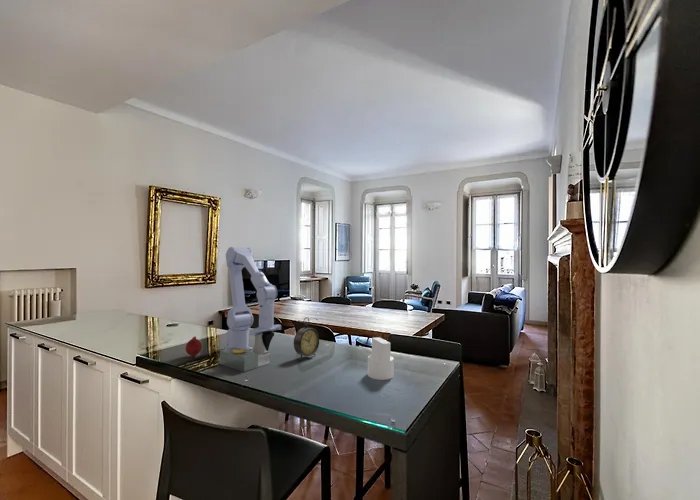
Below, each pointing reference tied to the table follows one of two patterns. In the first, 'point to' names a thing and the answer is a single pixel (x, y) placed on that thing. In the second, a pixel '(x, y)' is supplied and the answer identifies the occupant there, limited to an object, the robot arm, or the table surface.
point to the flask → (259, 344)
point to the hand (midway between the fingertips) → (265, 350)
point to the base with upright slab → (380, 360)
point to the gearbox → (243, 358)
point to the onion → (193, 347)
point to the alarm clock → (306, 341)
